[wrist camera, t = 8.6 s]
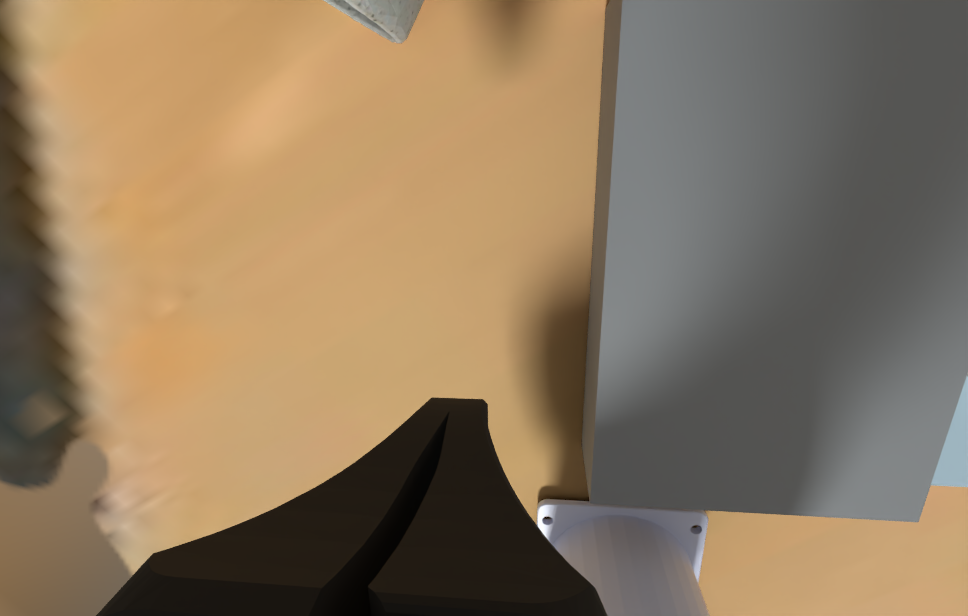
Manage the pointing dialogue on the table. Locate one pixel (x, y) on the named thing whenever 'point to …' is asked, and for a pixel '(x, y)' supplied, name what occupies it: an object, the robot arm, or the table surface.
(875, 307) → the plate
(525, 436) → the table surface
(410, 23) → the ceramic mug
